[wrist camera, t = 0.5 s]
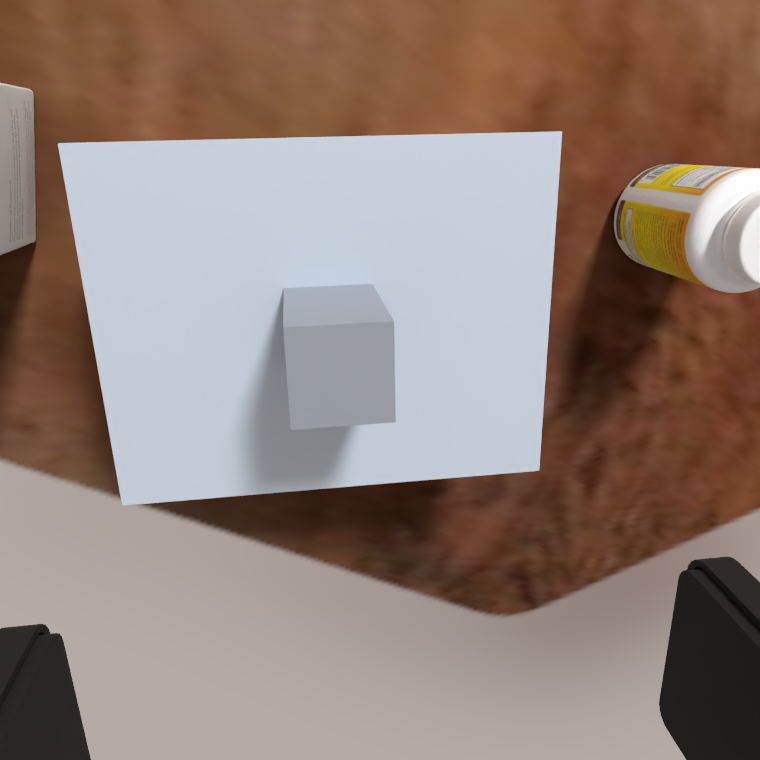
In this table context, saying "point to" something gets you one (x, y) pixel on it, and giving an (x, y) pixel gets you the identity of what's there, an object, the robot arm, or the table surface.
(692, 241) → the supplement bottle
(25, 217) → the supplement box
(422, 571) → the table surface
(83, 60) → the table surface
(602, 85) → the table surface
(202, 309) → the lid
